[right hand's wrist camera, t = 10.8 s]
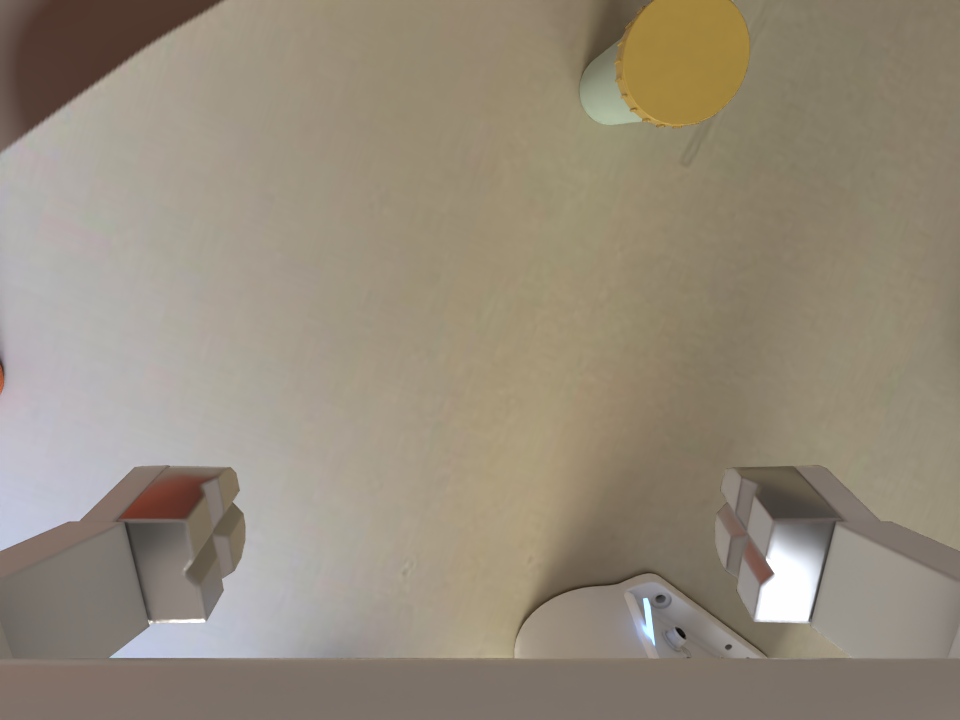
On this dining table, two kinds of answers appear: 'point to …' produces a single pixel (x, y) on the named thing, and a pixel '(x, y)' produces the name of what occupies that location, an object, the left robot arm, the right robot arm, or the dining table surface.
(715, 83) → the lid
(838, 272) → the dining table surface
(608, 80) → the green bottle
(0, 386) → the cup with straw
